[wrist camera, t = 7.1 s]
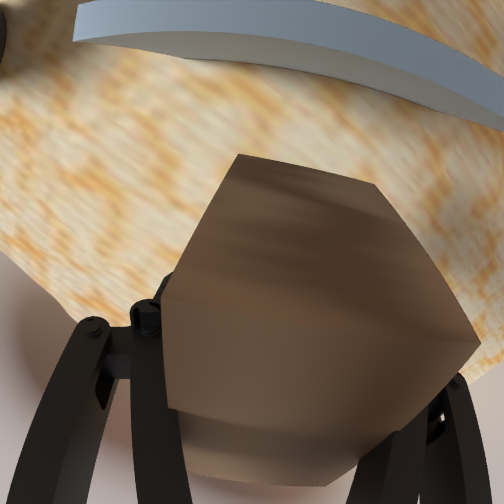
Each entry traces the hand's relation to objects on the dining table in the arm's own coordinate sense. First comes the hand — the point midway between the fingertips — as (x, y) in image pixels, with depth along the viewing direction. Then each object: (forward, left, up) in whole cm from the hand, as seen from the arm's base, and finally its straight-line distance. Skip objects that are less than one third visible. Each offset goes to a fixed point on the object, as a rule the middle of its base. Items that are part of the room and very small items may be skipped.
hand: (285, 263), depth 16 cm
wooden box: (0, 0, 0) cm, 0 cm away
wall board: (+1, +13, -17) cm, 22 cm away
